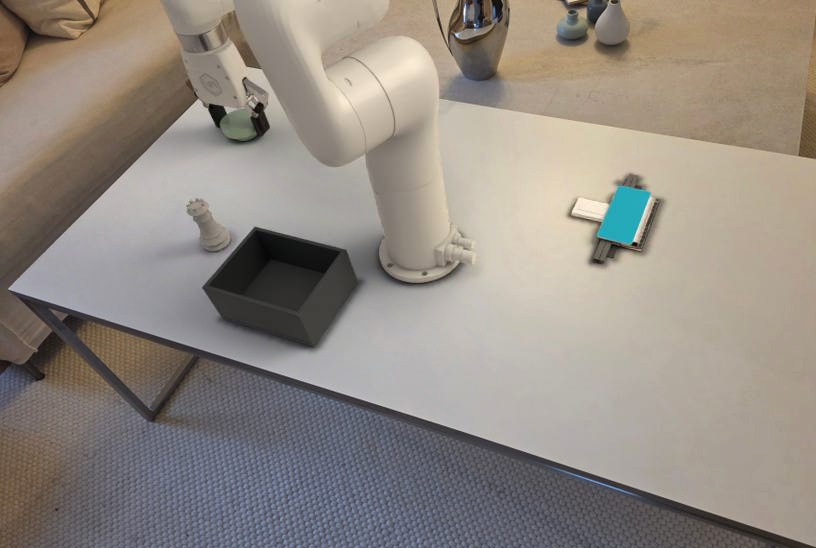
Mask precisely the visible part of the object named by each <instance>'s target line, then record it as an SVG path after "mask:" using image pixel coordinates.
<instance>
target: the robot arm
mask: <svg viewBox="0 0 816 548" xmlns="http://www.w3.org/2000/svg"><path fill="white" fill-rule="evenodd" d="M159 2H160V4H161V6H162V8H163V11H164V12H165V14H166V17H167V19H168V21H169V23H170V25H171V27H172V29H173V32H174V33H175V36H176V38H177V40H178V42H179V44H180V45H179V53H180V55H181V59H182V60H181V61H182V63H183V65H184V69H185V72H186V74H187V76H188V79H187V80H186V81H185V83H184V84H185V85H186V86H187V87H188V88H189V89H190V90H191V92H193V95H194V96H195V97H196V98H197V99H198V100H199V101H200V102H201V103H202V106H203V107H204V108H205V109H207V111H208V113H209V116H210V118H211V120H212V121H213V124H214V126H215V127H216V128H217V129H221V127H220V121H221V119H222V118H223V117H224V116H225V115H227V114H228V113H227V110H226V108H227V107H228V108H232V109H236V110H238V109H244V108H245V109H246V110H247V111H248V112H249V113H250V114H251V115H252V116H251V117H250V119H251V121H252V124H253V126H254V128H255V131H256V133H257V135H256V136H258V137H263V136H264V135H266V133H267V132H268V131H269V130H270V128H271V125H270V123H269V120H268V117H267V115H266V112H265V110H266V108H267V106H268V104H269V97H270V94H269V92H268V91H266V90H265V89H263V88H262V87H261V86H259V85H257V84H256V83H254V80H253V79H252V76H251V74H250V72H249V70H248V67H247V65H246V63H245V61H244V59H243V57H242V56H241V53H240V52H239V50H238V49H237V47H236V44H235V43H234V42H233V41H232V40H230V36H229V34H228V31H227V29H226V26H225V24H224V22H223V19H222V17H223V16H225V15H227V14H230V13H231V12H234V13H235V17H236V20H237V23H238V25H239V28H240V30H241V32H242V34H243V36H244V39H245V40H246V43H247V45H248V46H249V49H250V50H251V53H252V54H253V56H254V58H255V59H256V62H257V64H258V65H259V67H260V69H261V71H262V73H263V75H264V76H265V78H266V80H267V82H268V83H269V86H270V87H271V89H272V91H273V93H274V95H275V97H276V99H277V100H278V103H279V104H280V106H281V108H282V110H283V112H284V115H286V117H287V119H288V122H289V123H290V125H291V126H292V128H293V130H294V132H295V134H296V135H297V138H299V140H300V142H301V143H302V145H303V146H304V148H305V149H306V150H307V151H308V153H309V154H310V155H311V156H312V157H313V158H314V159H315V160H316V161H317V162H318V163H320V164H322V165H323V166H326V167H329V168H340V167H344V166H347V165H349V164H351V163H352V162H353V163H354V161H356V160H358V159H359V158H361V157H362V156H364V159H365V161H364V162H365V167H366V170H367V174H368V178H369V183H370V187H371V190H372V194H373V197H374V202H375V205H376V209H377V213H378V217H379V220H380V224H381V228H382V231H383V236H384V237H383V238H382V240H381V242H380V245H379V249H378V257H379V260H380V264H381V266H382V267H383V269H384V271H385V272H386V273H387V274H388V275H389V276H391V277H393V278H394V279H396V280H399V281H402V282H405V283H410V284H411V283H412V284H413V283H416V284H420V283H428V282H432V281H437V280H438V279H441V278H443V277H445V276H446V275H448V274H449V273H451V272H452V271H454V270H455V268H457V266H458V265H459V263H460V262H461V263H462V264H466V265H470V266H474V265H476V262H477V258H478V252H477V251H473V249H474V248H475V246H476V241H475V240H474V239H471V238H464V237H463V236H462V235H461V233H460V232H459V230H458V225H457V224H455V223H451V222H450V216H449V215H450V214H449V208H448V201H447V195H446V187H445V181H444V180H445V179H444V174H443V166H442V157H441V150H440V143H439V130H438V129H439V128H438V127H439V126H438V124H439V123H438V121H439V109H440V108H439V107H440V80H439V79H440V78H439V75H438V70H437V67H436V65H435V61H434V60H433V58H432V56H431V54H430V53H429V52H428V50H427V49H426V47H424V46H423V45H422V44H421V43H420V42H419V41H417V40H415V39H414V38H412V37H408V36H405V35H397V34H396V35H388V36H385V37H381V38H378V39H376V40H373V41H371V42H370V43H367V44H366V45H364V46H362V47H360V48H358V49H357V50H354V51H353V52H351V53H349V54H347V55H345V56H343V57H342V58H341V59H339V60H337V61H336V62H334V63H332V64H330V65H328V66H326V67H325V68H324V64H323V61H322V55H323V54H325V53H326V52H329V51H331V50H332V49H334V48H336V47H338V46H339V45H342V44H344V43H346V42H348V41H349V40H351V39H354V37H357V36H358V35H360V34H362V33H364V32H365V31H368V30H369V29H370V28H372V27H374V26H375V25H376V24H378V23H379V22H380V21H381V20H383V18H384V17H385V16H386V15H387V13H388V11H389V8H390V4H391V0H159ZM249 102H252V103H253V105H255V106H254V107H253V106H252V105H251V104H250V103H249ZM225 107H226V108H225Z"/></svg>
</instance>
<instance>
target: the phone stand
mask: <svg viewBox="0 0 816 548" xmlns="http://www.w3.org/2000/svg"><path fill="white" fill-rule="evenodd" d="M639 177H640V175H638V174H633V173H629V174H628V176H627V179H626V181H625V183H624V184H623V185H618V186H617V188H616V189H615V192H614V194H613V197H612V199H611V201H610V203H607V202H601V201H596V200H592V199H588V198H584V197H578V198H577V200H576V202H575V204H574V206H573V209H572V210H571V216H572V217H576V218H581V219H586V220H590V221H595V222H599V223H601V225H600V227H599V229H598V231H597V233H596V237H597V238H599V239H600V241H599V243H598V245H597V249H596V251H595V254H594V256H593V260H592V262H595V263H599V264H604V263H605V261H606V258H607V257H608V258H612V259H614V258H615V256H616V253H617V250H618V247H621V248H624V249H628V250H633V251H637V252H643V249H644V246H645V243H646V240H647V239H648V235H649V233H650V230H651V227H652V224H653V222H654V219H655V216H656V213H657V211H658V209H659V205H660V202H661V201H660V199H659V198H657V195H654V196H651V195H652V193H651V191H649V190H644V189H642V188H643V186H642V185H640V184H639V185H638V184H637V182H638V179H639Z"/></svg>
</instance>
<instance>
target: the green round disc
mask: <svg viewBox="0 0 816 548" xmlns="http://www.w3.org/2000/svg"><path fill="white" fill-rule="evenodd" d="M251 116H252V115H251V114H250V113H249V112H248V111H247V110H246V109H245V108H244V107H243V108H241V109H235V110H232V111H230V112H229V113H227V115H225V116H224V117H223V118H222V119H221V121H220V127H221V128H220V129H221V132H222V133H223V135H224V136H225V137H226V138H229V139H234V140H237V141H240V142H244V141H245V142H246V141H249V140H252V139H254V138H255V137H256V136H258V135H257V133H256V131H255V128H254V126H253V124H252V121H251V119H250V117H251Z"/></svg>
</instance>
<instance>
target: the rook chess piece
mask: <svg viewBox="0 0 816 548" xmlns="http://www.w3.org/2000/svg"><path fill="white" fill-rule="evenodd" d="M194 200H195V201H193V199H190V200H188V202H189V203H188V202H187V203H186V205H185V206H186V214H187V215H188V216H190V217H192V221H193V222H195V223H196V224H197V226H198V229H199V242H200V244H201V245H202V248H203V249H205V250H206V251H210V252H218V251H221V250H223V249H225V248H226V247H228V246H229V244H230V242H231V238H232V237H231V234H230V232H228V229H227V228H226V227H225V226H223V225H221V224H220V223H218V222H217V221H216V220H215V218H214V217H213V213H212V211H210V210H209V208H210V204H209V202H207V201H205V200H204V199H203V198H199V197H195V198H194Z"/></svg>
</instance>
